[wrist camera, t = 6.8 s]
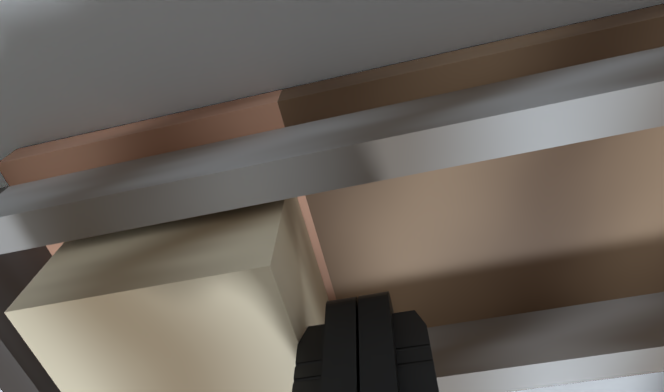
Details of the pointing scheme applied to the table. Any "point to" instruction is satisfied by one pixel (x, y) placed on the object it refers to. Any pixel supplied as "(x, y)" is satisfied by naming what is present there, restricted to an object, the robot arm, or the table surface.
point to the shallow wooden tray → (412, 198)
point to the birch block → (177, 305)
